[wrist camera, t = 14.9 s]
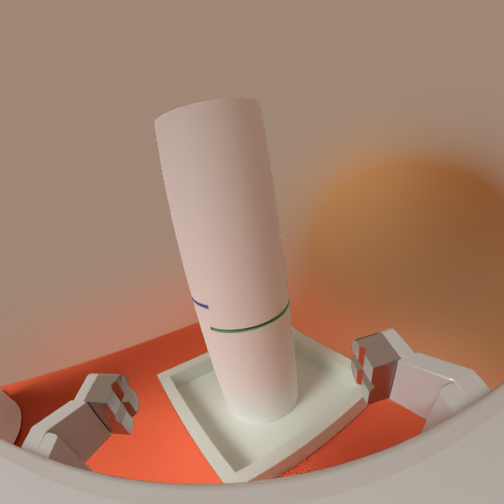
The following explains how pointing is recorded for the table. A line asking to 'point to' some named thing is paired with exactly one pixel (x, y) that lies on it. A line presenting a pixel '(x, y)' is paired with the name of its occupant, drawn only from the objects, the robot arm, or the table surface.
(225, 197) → the cylindrical container
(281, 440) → the tray
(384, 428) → the table surface
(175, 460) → the table surface
